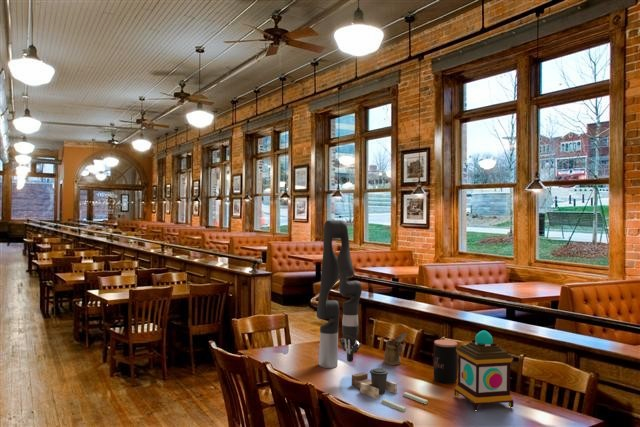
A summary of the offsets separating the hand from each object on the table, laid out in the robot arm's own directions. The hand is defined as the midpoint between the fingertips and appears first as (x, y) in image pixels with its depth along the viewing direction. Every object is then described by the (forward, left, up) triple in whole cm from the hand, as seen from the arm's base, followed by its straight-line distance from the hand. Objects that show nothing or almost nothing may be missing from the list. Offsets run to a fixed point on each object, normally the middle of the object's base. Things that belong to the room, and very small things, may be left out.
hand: (350, 361), depth 234 cm
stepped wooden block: (+19, 0, -9) cm, 21 cm away
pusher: (+10, 0, -9) cm, 13 cm away
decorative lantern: (+53, +27, -9) cm, 60 cm away
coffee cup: (+19, 0, -9) cm, 21 cm away
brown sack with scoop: (-6, +37, -9) cm, 39 cm away
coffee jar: (+26, +37, -9) cm, 46 cm away
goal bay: (+34, 0, -9) cm, 35 cm away
